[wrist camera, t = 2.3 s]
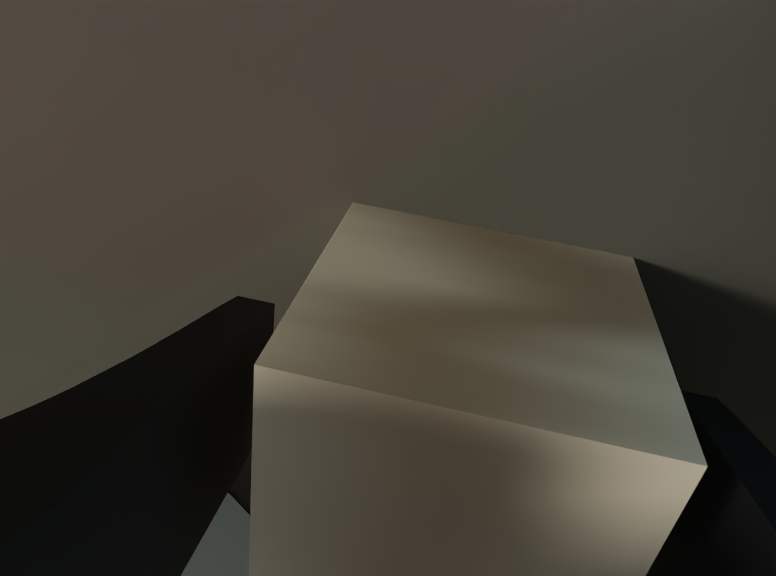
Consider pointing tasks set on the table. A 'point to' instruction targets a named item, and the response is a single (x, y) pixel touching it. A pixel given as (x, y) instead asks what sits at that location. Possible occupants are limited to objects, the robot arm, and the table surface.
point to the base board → (223, 544)
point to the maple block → (465, 411)
